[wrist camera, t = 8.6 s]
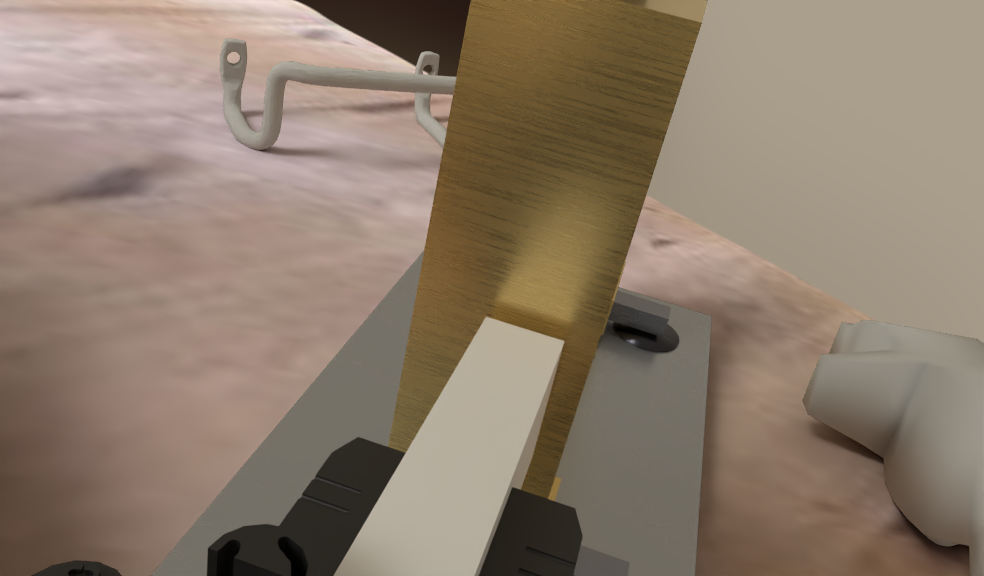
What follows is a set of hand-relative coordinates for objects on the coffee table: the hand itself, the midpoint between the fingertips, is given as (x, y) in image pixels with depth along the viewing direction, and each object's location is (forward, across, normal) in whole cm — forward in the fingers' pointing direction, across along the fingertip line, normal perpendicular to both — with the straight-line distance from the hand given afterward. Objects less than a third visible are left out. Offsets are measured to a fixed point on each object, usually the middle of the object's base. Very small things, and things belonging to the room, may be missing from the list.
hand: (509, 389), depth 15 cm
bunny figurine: (+13, +14, -8) cm, 21 cm away
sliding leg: (+2, 0, -6) cm, 7 cm away
